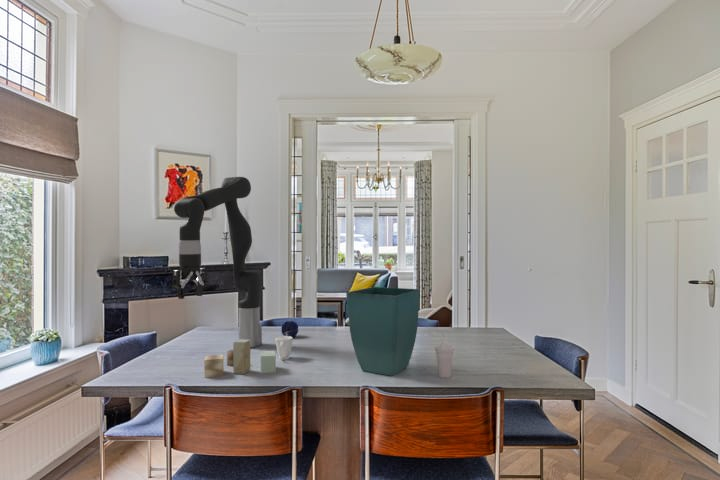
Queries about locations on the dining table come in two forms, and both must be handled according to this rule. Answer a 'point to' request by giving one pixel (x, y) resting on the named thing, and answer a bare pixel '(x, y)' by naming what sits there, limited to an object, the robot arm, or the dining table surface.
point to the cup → (284, 346)
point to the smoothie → (444, 359)
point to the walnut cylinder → (230, 358)
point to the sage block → (267, 362)
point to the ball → (290, 329)
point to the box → (241, 356)
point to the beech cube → (213, 365)
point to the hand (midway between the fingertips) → (190, 297)
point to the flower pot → (383, 327)
